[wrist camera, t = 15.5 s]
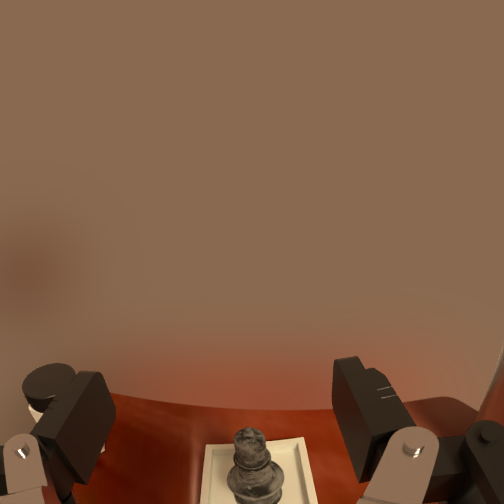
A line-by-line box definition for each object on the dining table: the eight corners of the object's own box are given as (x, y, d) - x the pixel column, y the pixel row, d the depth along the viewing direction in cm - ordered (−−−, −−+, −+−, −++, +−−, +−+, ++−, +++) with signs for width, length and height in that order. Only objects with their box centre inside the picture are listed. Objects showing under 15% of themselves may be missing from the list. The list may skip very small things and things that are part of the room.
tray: (303, 446, 34) (303, 437, 33) (321, 537, 20) (323, 530, 20) (208, 453, 34) (206, 444, 33) (201, 545, 20) (196, 538, 20)
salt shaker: (257, 466, 31) (247, 396, 28) (296, 490, 27) (296, 422, 24) (220, 493, 27) (199, 428, 24) (258, 522, 23) (246, 463, 20)
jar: (60, 426, 36) (29, 364, 33) (105, 421, 39) (78, 357, 36) (55, 466, 28) (14, 402, 25) (107, 462, 31) (71, 396, 28)
